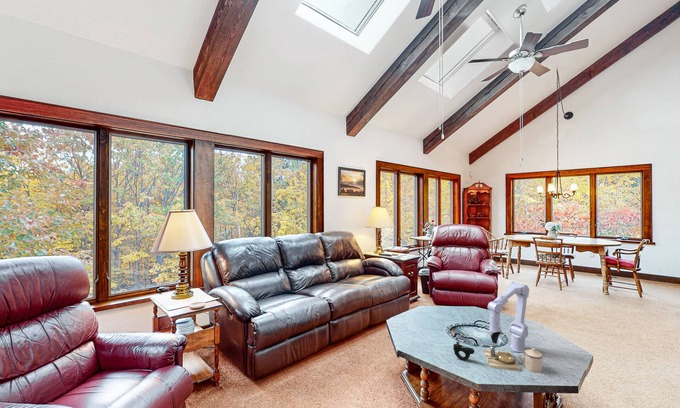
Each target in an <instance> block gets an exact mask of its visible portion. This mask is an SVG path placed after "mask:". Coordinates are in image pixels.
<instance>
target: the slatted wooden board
mask: <svg viewBox="0 0 680 408" xmlns="http://www.w3.org/2000/svg"><path fill="white" fill-rule="evenodd" d="M498 351H500V350H495V354H497V353H498ZM500 352H503V351H502V350H501V351H500ZM505 352H506V353H507V352H509V353H510V354H511V355H513V353H511V352H510V351H505ZM483 353H484V356H485V358H486V361H487V363H488V365H489V368H490V369H491V368H493V369H502V370H508V371H516V372H517V371H518V372H521V367H520V365H519V364H518V362H517V360H516V359H515V358H514V362H513V363H511V364H507V363H503V362H500V361H499V360H498V359H497V357H491V349H483Z"/></svg>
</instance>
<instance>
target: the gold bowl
mask: <svg viewBox="0 0 680 408" xmlns="http://www.w3.org/2000/svg"><path fill="white" fill-rule="evenodd" d="M490 350H491V357H497V359H498V360H499V361H500V362H503V363H507V364H511V363H513V362H514V359H515V358H514V355H513V354H512V353H511V354H512V355H511V354H510V353H509V352H510V351H502V352H500V350H497V351H498V353H497V354H495V351H496V346H495V345H490ZM506 352H507V353H506Z"/></svg>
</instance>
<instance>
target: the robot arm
mask: <svg viewBox="0 0 680 408" xmlns="http://www.w3.org/2000/svg"><path fill="white" fill-rule="evenodd" d="M529 293H530V288H529V286H528V285H527V284H523V283H519V282H515V281H511V282H510V283H509V285H508V288H507V290H506V291H505V292H504V293H503V294H500V295H498V297H496V298H495V299H494V300H493V301H489V302H488V304H487V306H486V307H487V310H488V314H489V327H488V331H487V335H488V336H490V338H491V341H492V344H495V345H496V344H497V343H498V341H499V338H500V335H501V333H502V331H503V329H501V328H502V325H501V321H500V320H501V315H500V314H501V313H502V312H503V308H504V307H505V305H507V303H508V302H509V300H508V299H510V298H511V297H513V296H514V295H515V296H516V297H517V301H516V307H515V308H516V309H515V316H514V317H515V318H514V320H513V321H511V322H510V325H509V327H508V329H509V333H510V344H509V346H510V348H511V350H512V352H515V353H523V354H525V353H524V352H525V350H526V338H528V336H529V330H528V329H529V327H528V325H527V324H526V323H525V316H526V309H527V301H528V298H529Z"/></svg>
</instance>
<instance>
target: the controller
mask: <svg viewBox="0 0 680 408" xmlns="http://www.w3.org/2000/svg"><path fill="white" fill-rule="evenodd" d="M460 343H461V342H460V341H456V342H455V343H454V344H453V347H452V350H453V352H454V356H456V358H458V359H459V360H461V361H467V360H468V359H470V357H471V355H473V354H475V349H474V348H473V347H468V346H465V345H462V344H460ZM460 352H462V353H464V355H465V356H462V355H461V354H460Z"/></svg>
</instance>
